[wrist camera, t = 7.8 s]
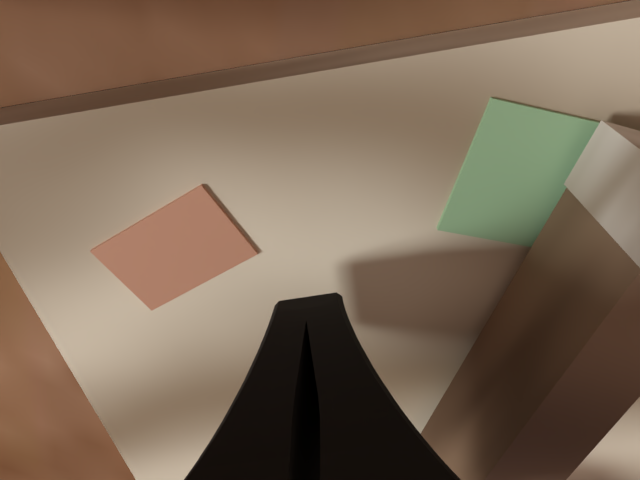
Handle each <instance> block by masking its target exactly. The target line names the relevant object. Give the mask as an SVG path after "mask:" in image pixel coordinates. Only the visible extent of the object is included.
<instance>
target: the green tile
mask: <svg viewBox="0 0 640 480" xmlns="http://www.w3.org/2000/svg"><path fill="white" fill-rule="evenodd" d="M599 123H600V122H599V121H595V120H590V119H586V118H581V117H577V116H573V115H568V114H564V113H560V112H555V111H551V110H546V109H542V108H538V107H533V106H529V105H524V104H520V103H516V102H511V101H507V100H502V99H498V98H494V97H490V99H489V102H488V104H487V107H486V109H485V112H484V114H483V116H482V119H481V121H480V124H479V126H478V128H477V131H476V133H475V136H474V138H473V141H472V143H471V145H470V148H469V150H468V153H467V155H466V157H465V160H464V162H463V165H462V167H461V170H460V172H459V174H458V177H457V179H456V182H455V184H454V186H453V189H452V191H451V194H450V196H449V199H448V201H447V203H446V206H445V208H444V211H443V213H442V216H441V218H440V220H439V223H438V225H437V230H439V231H445V232H450V233H456V234H461V235H467V236H473V237H478V238H484V239H489V240H495V241H500V242H506V243H511V244H517V245H522V246H528V247H532V245H533V243H534V242H535V240H536V238H537V237H538V235H539V233H540V232H541V230H542V228H543V226H544V225H545V223H546V221H547V220H548V218H549V216H550V215H551V213H552V211H553V210H554V208H555V206H556V205H557V203H558V201H559V200H560V198H561V196H562V194H563V193H564V191H565V189H566V188H567V187H566V186H565V185H564V183H565V181H566V179H567V178H568V176H569V174H570V172H571V171H572V169H573V167H574V166H575V164H576V162H577V161H578V159H579V157H580V155H581V154H582V152H583V150H584V149H585V147H586V145H587V144H588V142H589V140H590V138H591V137H592V135H593V133H594V132H595V130H596V128H597V127H598V125H599Z"/></svg>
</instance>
